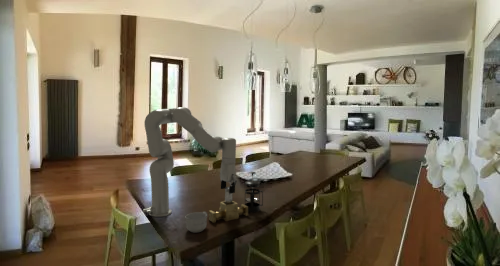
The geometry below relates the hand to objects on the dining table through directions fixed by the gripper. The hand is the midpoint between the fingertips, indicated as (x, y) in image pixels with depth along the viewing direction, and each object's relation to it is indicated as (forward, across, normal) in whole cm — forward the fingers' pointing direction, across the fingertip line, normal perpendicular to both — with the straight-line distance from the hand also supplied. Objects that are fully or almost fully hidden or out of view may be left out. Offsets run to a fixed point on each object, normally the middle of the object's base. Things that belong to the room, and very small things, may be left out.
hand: (227, 190), depth 185 cm
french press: (+15, -3, +20) cm, 25 cm away
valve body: (+15, +1, +1) cm, 15 cm away
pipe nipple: (+10, +1, +1) cm, 10 cm away
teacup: (+16, +8, -21) cm, 27 cm away
